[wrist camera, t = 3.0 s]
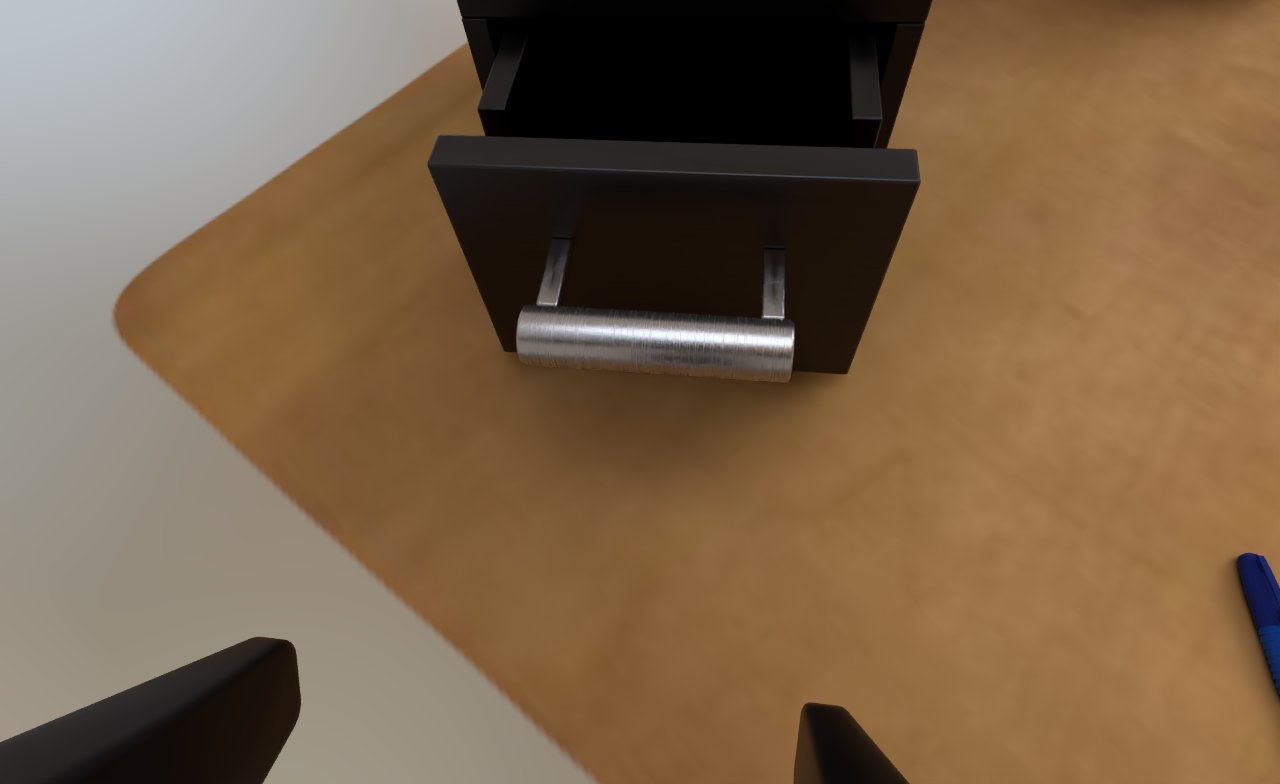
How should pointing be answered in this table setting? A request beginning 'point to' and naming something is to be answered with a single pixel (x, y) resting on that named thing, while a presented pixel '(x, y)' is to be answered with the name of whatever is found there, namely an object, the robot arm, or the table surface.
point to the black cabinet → (889, 3)
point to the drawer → (679, 195)
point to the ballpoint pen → (1263, 606)
